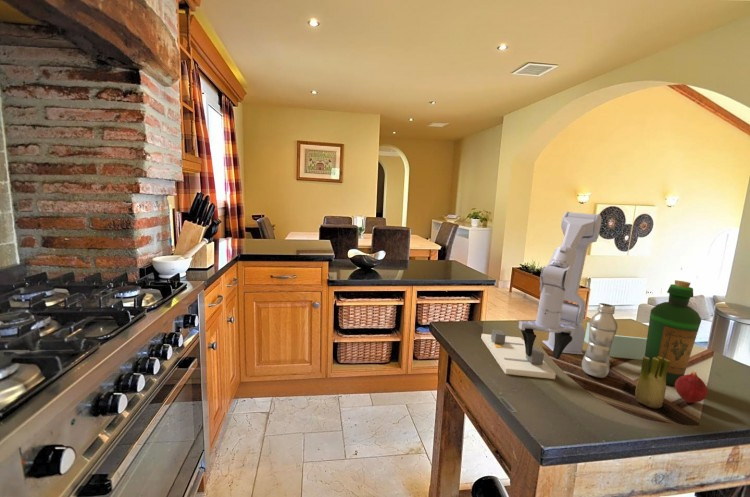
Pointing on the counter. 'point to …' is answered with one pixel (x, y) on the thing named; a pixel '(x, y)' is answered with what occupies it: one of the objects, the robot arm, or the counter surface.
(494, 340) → the switch
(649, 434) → the counter surface
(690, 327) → the bottle
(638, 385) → the fennel bulb
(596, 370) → the plastic bottle
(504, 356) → the switch console
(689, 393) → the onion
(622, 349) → the l-shaped corner panel
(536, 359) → the switch
